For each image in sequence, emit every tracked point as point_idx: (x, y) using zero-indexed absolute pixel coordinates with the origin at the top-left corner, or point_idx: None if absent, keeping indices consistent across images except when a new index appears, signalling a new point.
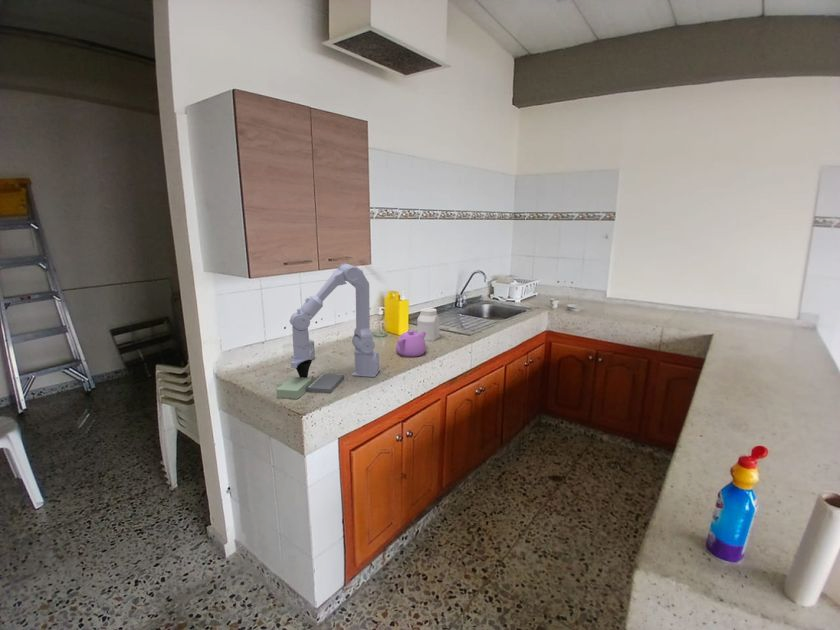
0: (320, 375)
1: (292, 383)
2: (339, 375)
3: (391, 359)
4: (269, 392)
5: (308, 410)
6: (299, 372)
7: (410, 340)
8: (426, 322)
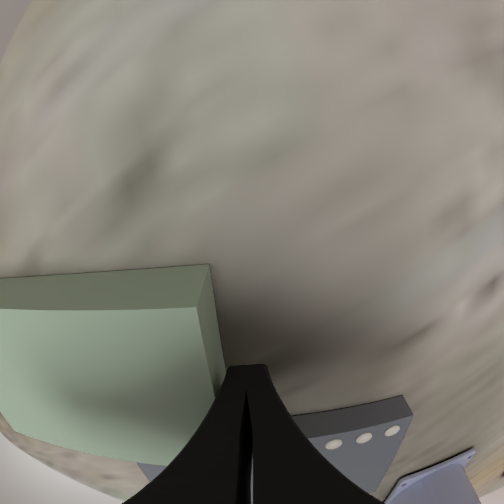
0: (375, 428)
1: (51, 383)
2: (368, 485)
3: None
4: (4, 165)
5: (18, 443)
6: (212, 437)
7: None
8: None
